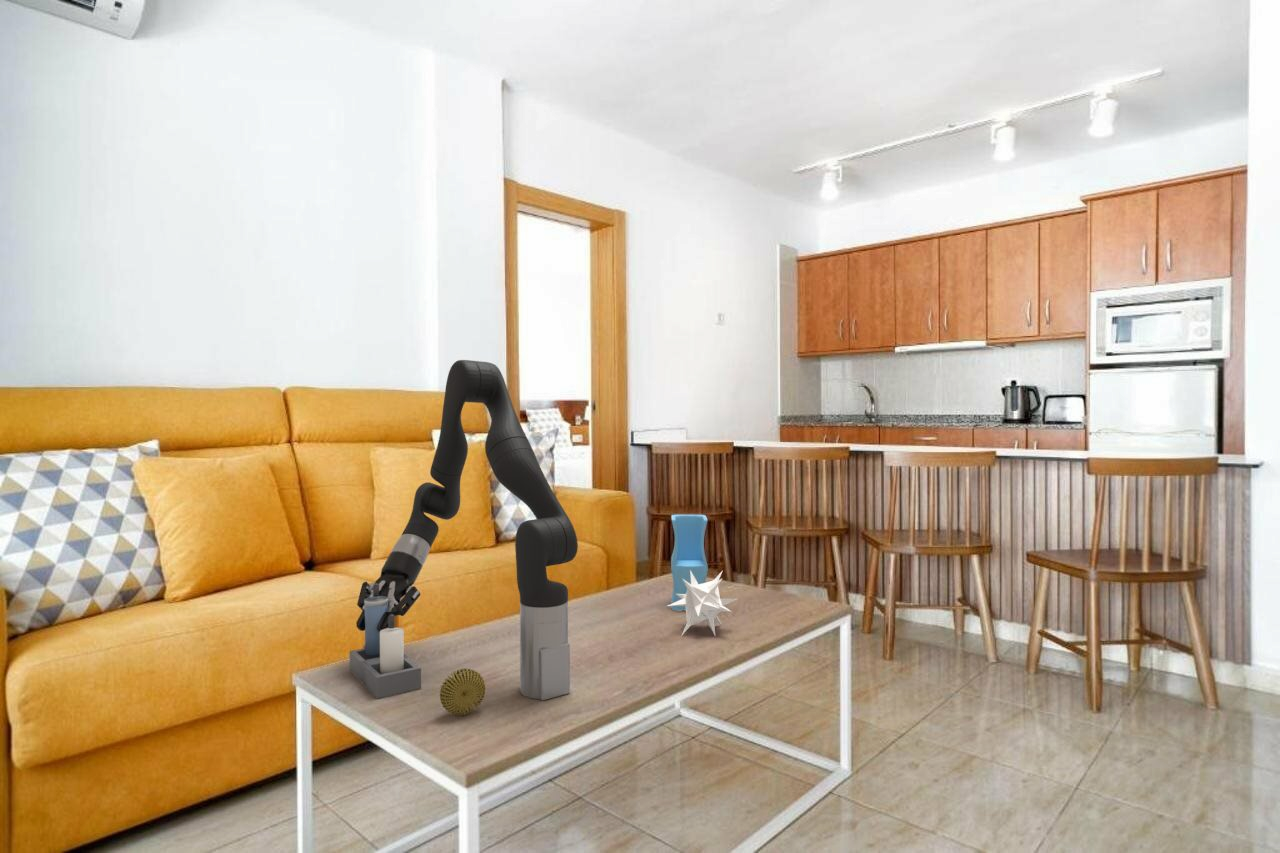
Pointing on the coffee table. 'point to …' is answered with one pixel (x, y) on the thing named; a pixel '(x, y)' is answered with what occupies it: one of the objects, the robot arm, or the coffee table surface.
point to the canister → (373, 620)
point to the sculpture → (462, 692)
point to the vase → (688, 553)
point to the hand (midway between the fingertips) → (370, 629)
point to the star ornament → (702, 602)
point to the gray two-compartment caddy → (386, 665)
